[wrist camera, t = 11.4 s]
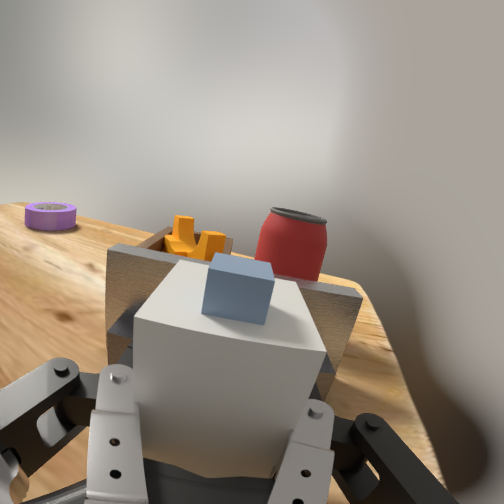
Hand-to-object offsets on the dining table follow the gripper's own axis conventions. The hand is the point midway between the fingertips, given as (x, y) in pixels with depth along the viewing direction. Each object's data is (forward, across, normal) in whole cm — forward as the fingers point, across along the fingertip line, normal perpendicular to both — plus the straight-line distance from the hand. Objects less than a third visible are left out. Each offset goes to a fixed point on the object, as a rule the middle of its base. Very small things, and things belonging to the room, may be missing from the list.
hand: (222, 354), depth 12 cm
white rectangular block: (-3, 0, +6) cm, 7 cm away
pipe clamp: (+30, +7, +7) cm, 32 cm away
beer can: (+17, -5, +7) cm, 19 cm away
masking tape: (+39, +39, +7) cm, 56 cm away
